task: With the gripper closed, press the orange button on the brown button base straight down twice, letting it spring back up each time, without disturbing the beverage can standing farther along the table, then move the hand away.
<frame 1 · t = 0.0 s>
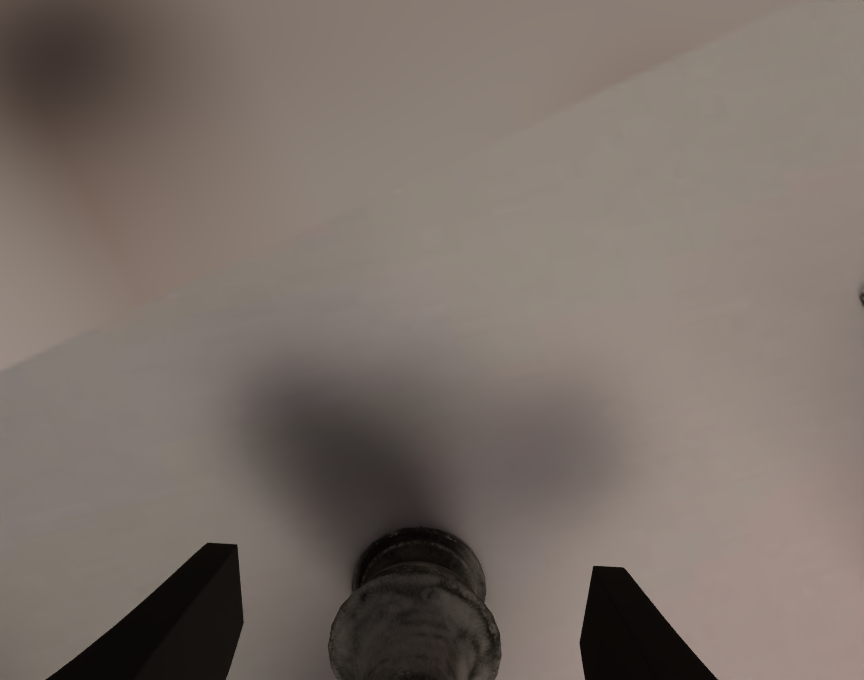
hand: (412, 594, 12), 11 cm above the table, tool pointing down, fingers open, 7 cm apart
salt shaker: (419, 585, 24), on the table
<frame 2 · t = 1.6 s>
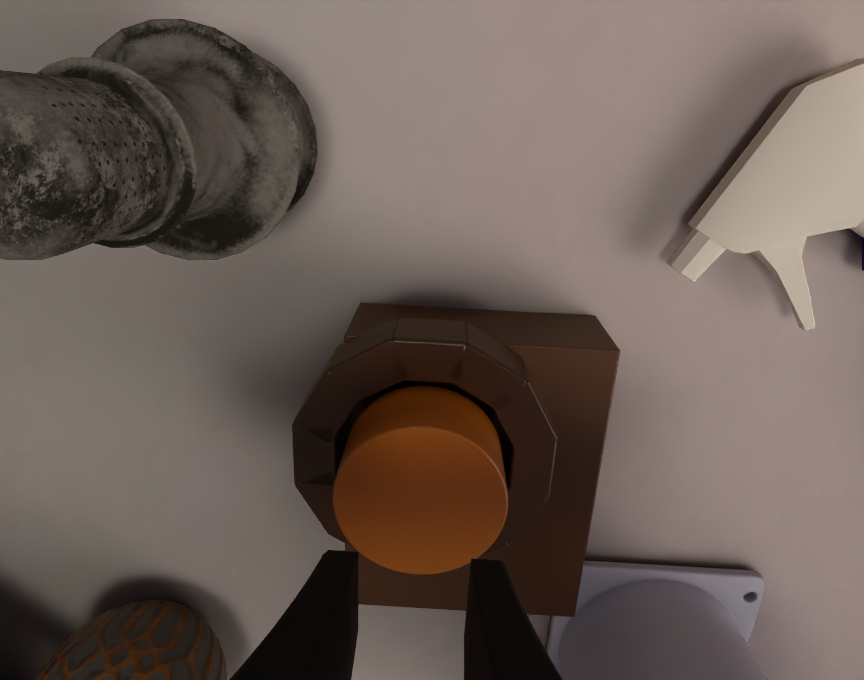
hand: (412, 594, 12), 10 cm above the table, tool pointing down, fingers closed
orange button: (422, 478, 16), point 6 cm above the table, slide at 0.1 cm
vase: (169, 632, 26), on the table
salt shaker: (234, 141, 19), on the table
brown button base: (467, 438, 22), on the table
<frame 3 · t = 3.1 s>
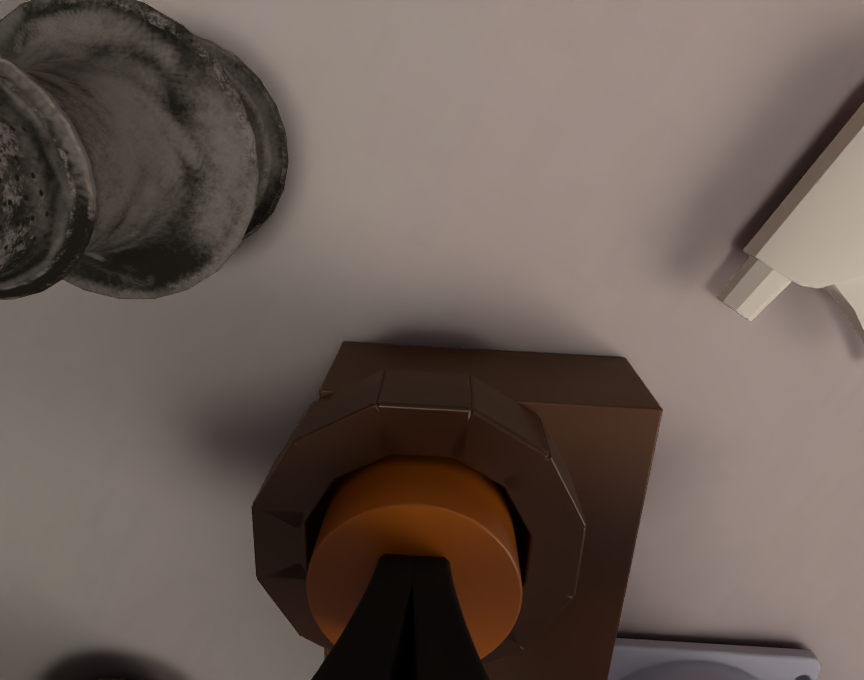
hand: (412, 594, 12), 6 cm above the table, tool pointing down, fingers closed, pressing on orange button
orange button: (416, 556, 13), point 5 cm above the table, slide at -0.6 cm, touching gripper
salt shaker: (187, 148, 15), on the table
brown button base: (471, 498, 19), on the table
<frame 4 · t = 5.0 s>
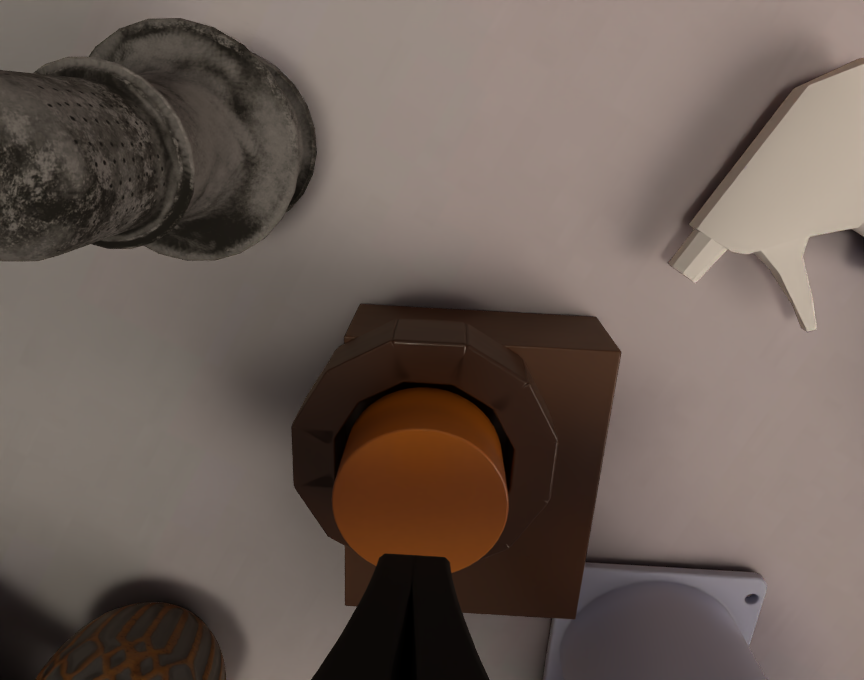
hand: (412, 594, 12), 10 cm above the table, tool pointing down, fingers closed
orange button: (422, 480, 16), point 6 cm above the table, slide at 0.1 cm
vase: (168, 633, 26), on the table
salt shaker: (233, 141, 19), on the table
brown button base: (467, 439, 22), on the table
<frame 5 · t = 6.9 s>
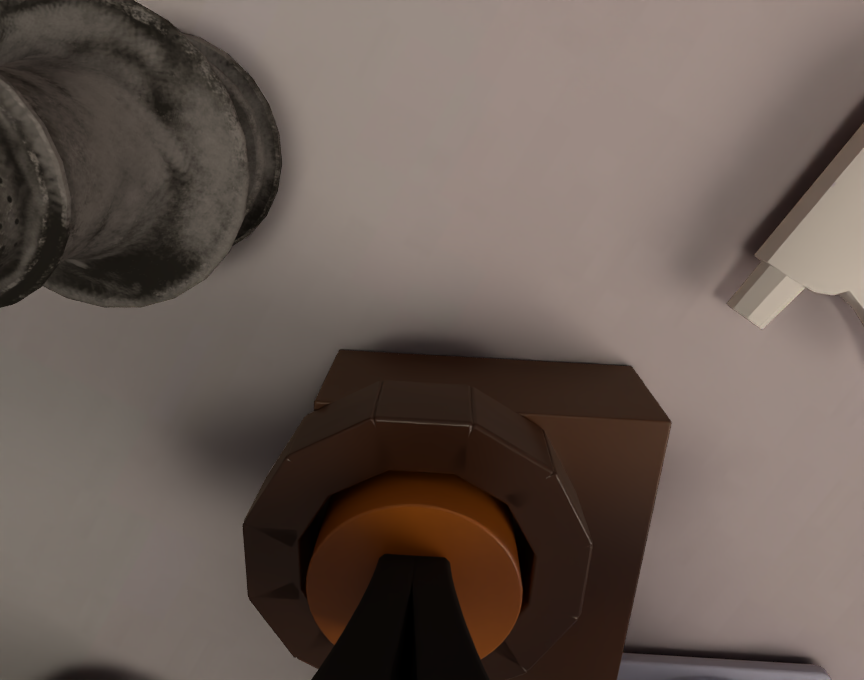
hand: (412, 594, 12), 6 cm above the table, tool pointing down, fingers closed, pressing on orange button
orange button: (416, 556, 13), point 4 cm above the table, slide at -1.2 cm, touching gripper
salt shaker: (177, 149, 15), on the table
brown button base: (471, 510, 18), on the table
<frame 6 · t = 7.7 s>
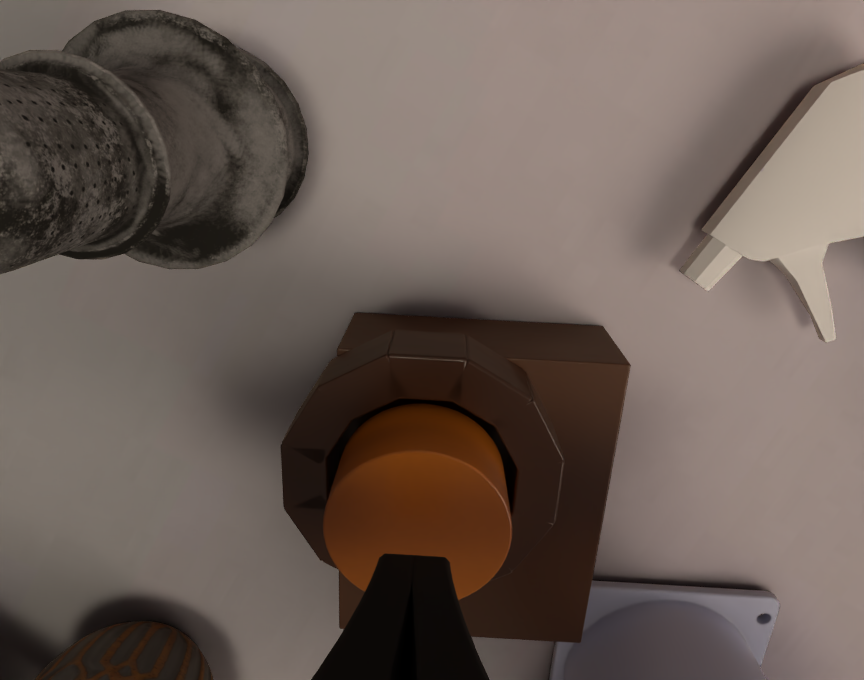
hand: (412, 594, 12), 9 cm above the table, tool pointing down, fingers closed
orange button: (419, 502, 15), point 6 cm above the table, slide at 0.1 cm
vase: (157, 653, 25), on the table
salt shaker: (221, 141, 18), on the table
brown button base: (467, 453, 21), on the table
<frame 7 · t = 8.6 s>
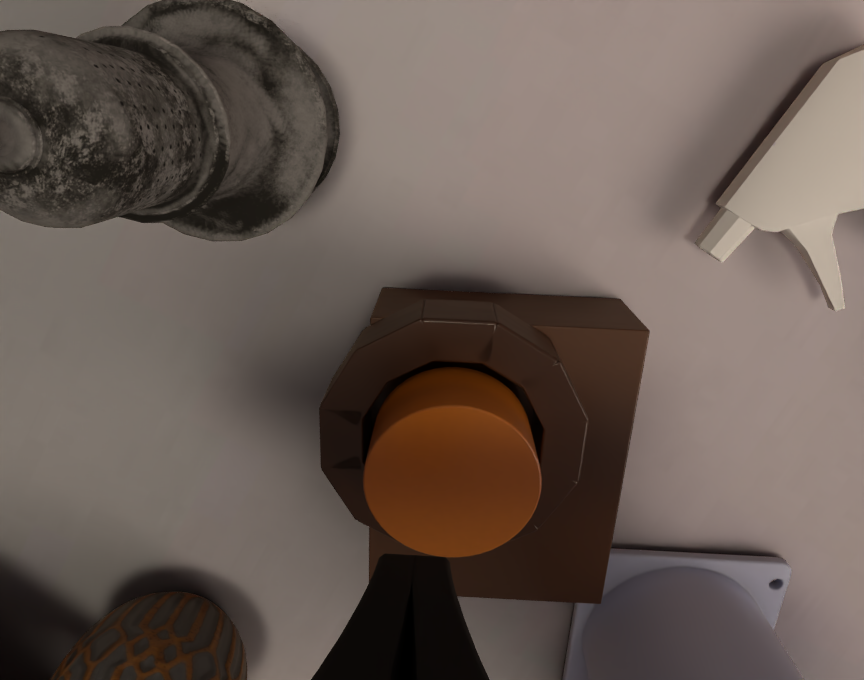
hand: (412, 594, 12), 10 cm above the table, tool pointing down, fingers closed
orange button: (451, 460, 16), point 6 cm above the table, slide at 0.1 cm
vase: (188, 624, 26), on the table
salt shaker: (256, 123, 19), on the table
brown button base: (489, 424, 22), on the table
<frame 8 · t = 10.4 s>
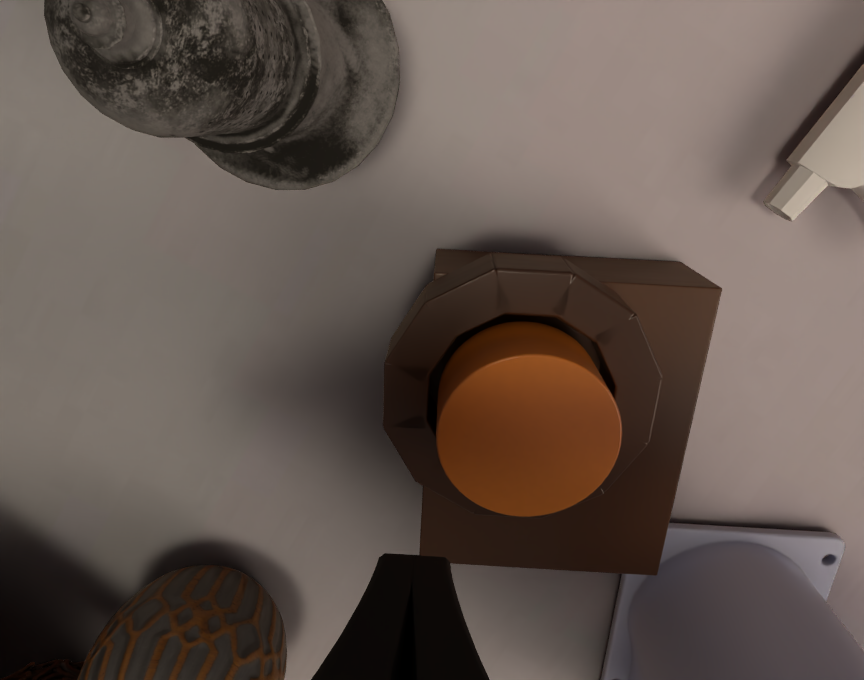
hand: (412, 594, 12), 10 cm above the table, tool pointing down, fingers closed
orange button: (523, 416, 15), point 6 cm above the table, slide at 0.1 cm
vase: (223, 599, 25), on the table
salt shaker: (312, 76, 18), on the table
brown button base: (541, 393, 21), on the table
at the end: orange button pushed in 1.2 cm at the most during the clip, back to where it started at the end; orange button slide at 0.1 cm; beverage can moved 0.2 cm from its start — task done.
